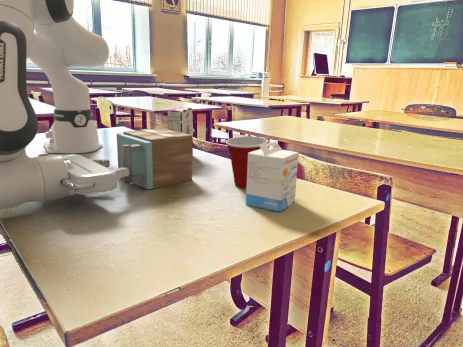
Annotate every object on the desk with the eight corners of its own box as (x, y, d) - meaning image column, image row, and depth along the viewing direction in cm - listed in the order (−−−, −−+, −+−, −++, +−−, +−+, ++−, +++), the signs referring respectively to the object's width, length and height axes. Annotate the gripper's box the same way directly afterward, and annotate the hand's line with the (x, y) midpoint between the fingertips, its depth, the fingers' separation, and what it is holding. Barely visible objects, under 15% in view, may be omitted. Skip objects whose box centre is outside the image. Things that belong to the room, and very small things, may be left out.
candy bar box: (179, 154, 125) (179, 106, 120) (193, 155, 124) (193, 107, 120) (167, 161, 114) (166, 109, 110) (182, 163, 113) (182, 110, 109)
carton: (125, 175, 98) (123, 131, 94) (163, 169, 106) (162, 127, 102) (152, 188, 88) (151, 138, 84) (192, 179, 96) (192, 134, 92)
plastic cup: (216, 182, 94) (217, 137, 91) (249, 177, 100) (251, 134, 97) (240, 194, 85) (242, 144, 82) (274, 187, 91) (278, 141, 88)
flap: (100, 177, 94) (98, 135, 91) (122, 174, 98) (120, 133, 95) (130, 193, 83) (127, 145, 80) (153, 188, 87) (151, 142, 84)
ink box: (279, 213, 75) (284, 150, 71) (244, 204, 79) (247, 144, 75) (295, 201, 82) (300, 143, 78) (262, 194, 86) (265, 139, 82)
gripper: (70, 173, 65) (139, 162, 74) (36, 152, 79) (98, 145, 88) (73, 206, 66) (141, 191, 76) (39, 180, 81) (99, 170, 90)
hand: (117, 166), depth 82 cm, fingers open, 8 cm apart
